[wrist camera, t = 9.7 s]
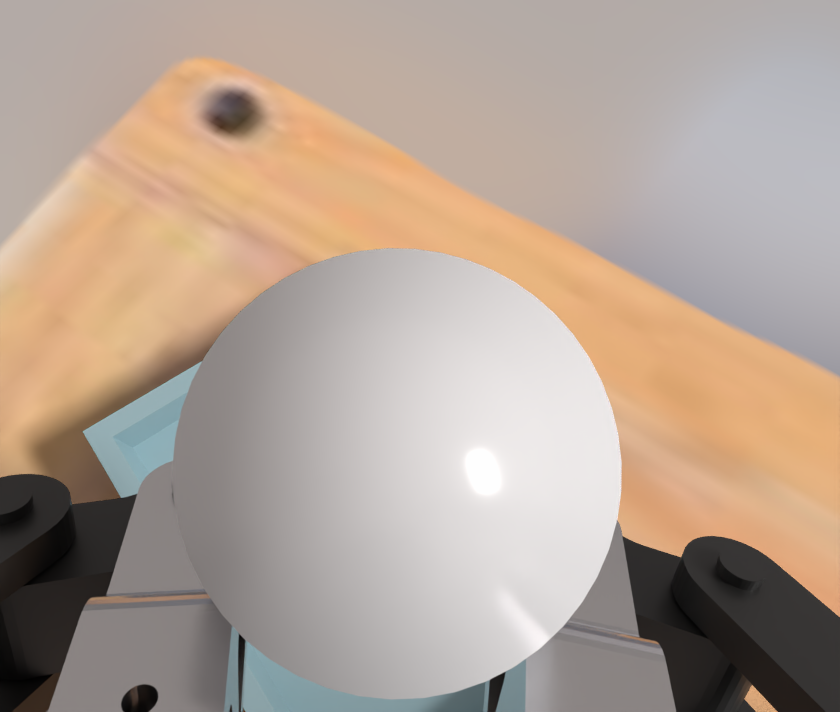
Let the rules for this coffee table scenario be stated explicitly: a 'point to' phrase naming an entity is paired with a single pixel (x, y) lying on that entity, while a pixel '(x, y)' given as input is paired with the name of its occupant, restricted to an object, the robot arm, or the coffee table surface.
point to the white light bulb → (397, 473)
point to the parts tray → (264, 679)
